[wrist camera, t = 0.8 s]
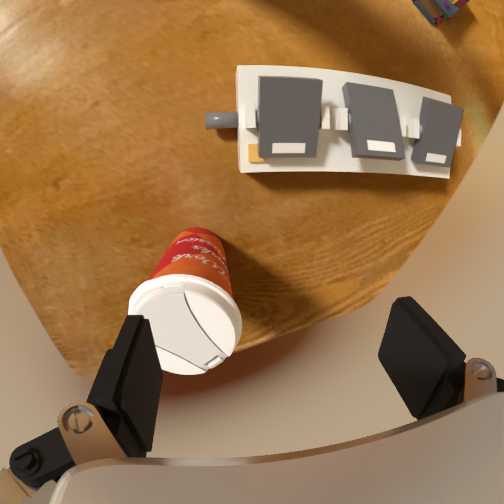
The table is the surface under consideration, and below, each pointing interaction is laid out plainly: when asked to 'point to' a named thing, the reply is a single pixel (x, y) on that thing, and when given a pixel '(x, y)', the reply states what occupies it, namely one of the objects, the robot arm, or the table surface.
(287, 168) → the strip
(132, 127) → the table surface
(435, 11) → the decorative book
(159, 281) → the coffee cup
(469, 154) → the table surface
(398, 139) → the rocker mid
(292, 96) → the rocker
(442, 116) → the rocker
